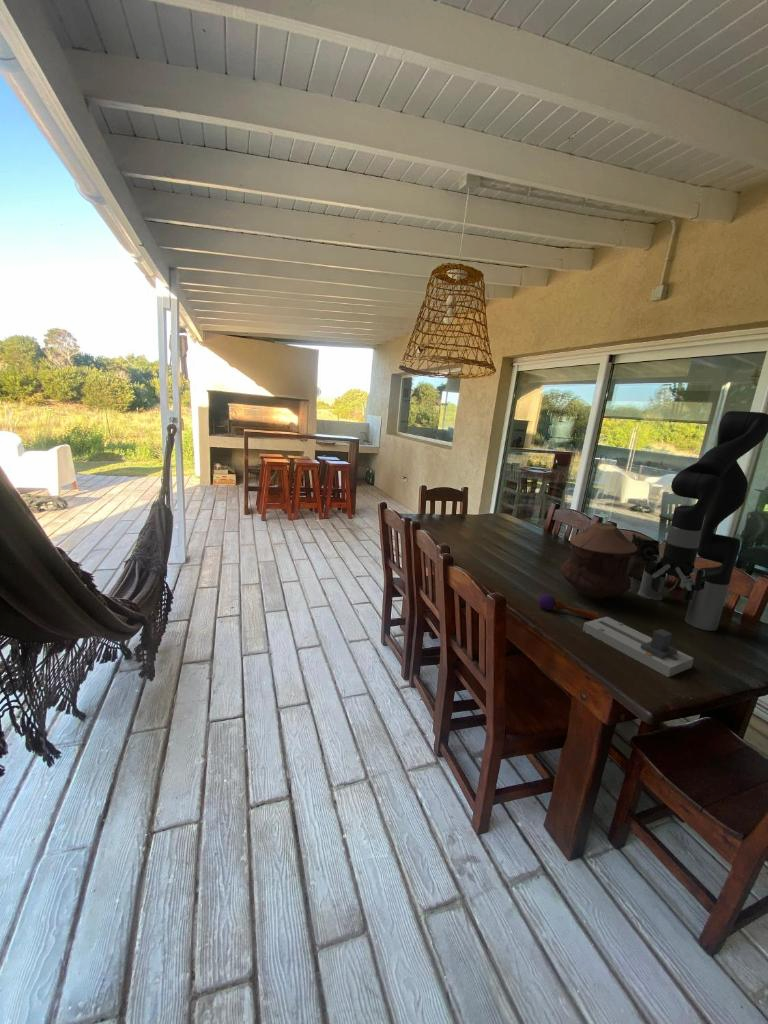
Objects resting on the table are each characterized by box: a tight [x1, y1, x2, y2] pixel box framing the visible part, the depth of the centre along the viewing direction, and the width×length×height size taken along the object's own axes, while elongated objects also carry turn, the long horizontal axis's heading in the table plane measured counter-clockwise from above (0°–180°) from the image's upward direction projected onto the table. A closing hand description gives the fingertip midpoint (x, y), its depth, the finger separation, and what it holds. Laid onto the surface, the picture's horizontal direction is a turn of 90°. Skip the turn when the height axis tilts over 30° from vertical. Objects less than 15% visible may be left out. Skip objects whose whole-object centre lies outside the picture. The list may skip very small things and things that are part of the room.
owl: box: [627, 533, 660, 582], centre depth 187 cm, size 13×13×20 cm
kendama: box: [537, 593, 599, 621], centre depth 147 cm, size 6×6×20 cm
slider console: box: [582, 616, 694, 678], centre depth 126 cm, size 12×27×3 cm, turn 27°
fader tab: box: [641, 628, 679, 659], centre depth 119 cm, size 8×6×6 cm
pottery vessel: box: [560, 522, 638, 600], centre depth 162 cm, size 26×26×30 cm
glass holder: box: [637, 559, 680, 601], centre depth 164 cm, size 9×14×15 cm, turn 15°
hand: (670, 595), depth 119 cm, fingers open, 8 cm apart
